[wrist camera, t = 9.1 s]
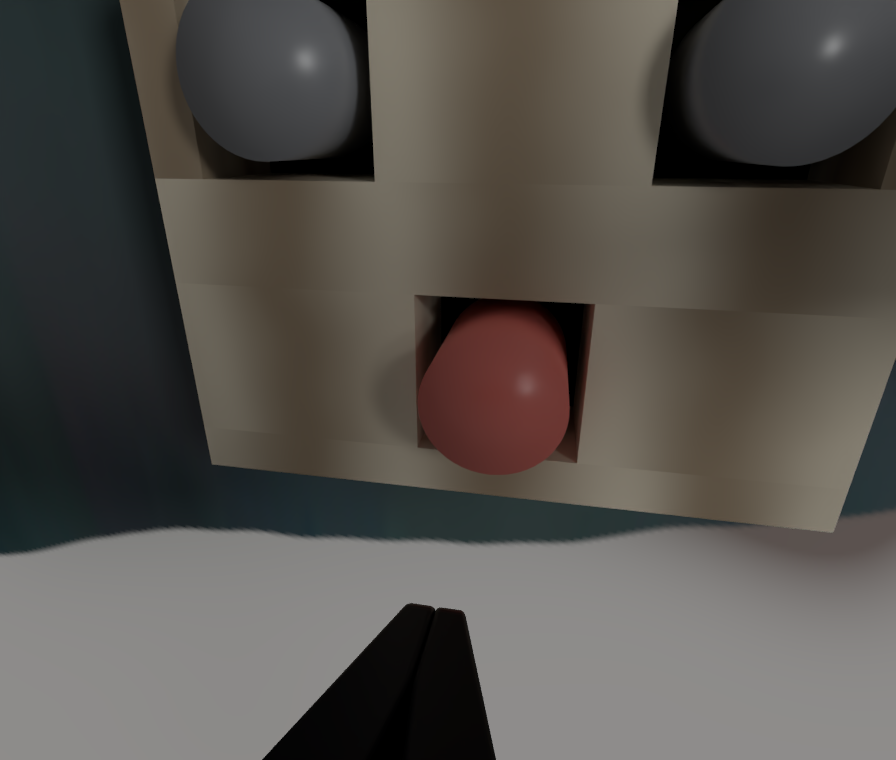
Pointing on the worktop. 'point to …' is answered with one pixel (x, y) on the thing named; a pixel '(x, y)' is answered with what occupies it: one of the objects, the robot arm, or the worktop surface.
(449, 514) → the worktop surface
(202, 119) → the grey plug
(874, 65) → the grey plug
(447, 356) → the red plug
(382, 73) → the plug board
